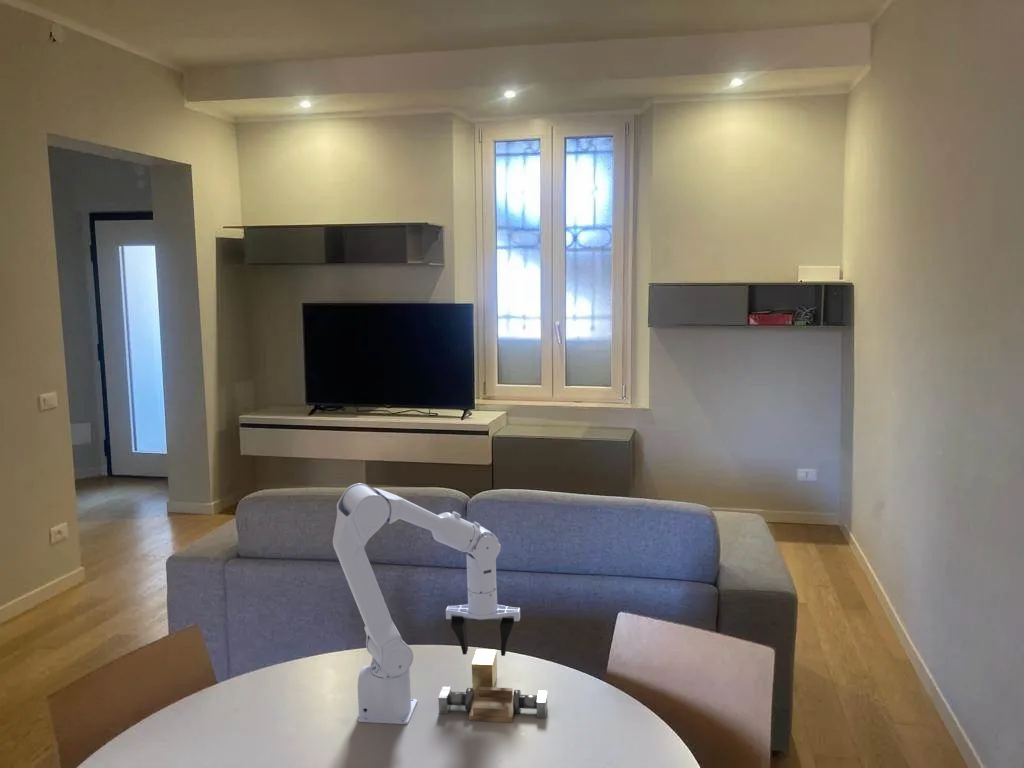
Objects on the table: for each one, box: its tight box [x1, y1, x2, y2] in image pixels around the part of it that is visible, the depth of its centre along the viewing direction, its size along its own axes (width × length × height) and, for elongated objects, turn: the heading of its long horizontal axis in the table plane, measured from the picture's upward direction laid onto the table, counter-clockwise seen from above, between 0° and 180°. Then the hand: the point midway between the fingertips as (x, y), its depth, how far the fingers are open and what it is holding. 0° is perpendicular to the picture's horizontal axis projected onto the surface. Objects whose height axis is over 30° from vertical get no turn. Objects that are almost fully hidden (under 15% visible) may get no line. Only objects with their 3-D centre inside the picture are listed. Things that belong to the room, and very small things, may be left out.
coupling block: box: [471, 648, 498, 694], centre depth 159 cm, size 6×4×6 cm, turn 173°
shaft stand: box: [438, 686, 548, 724], centre depth 150 cm, size 20×8×4 cm, turn 83°
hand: (484, 652), depth 159 cm, fingers open, 7 cm apart
